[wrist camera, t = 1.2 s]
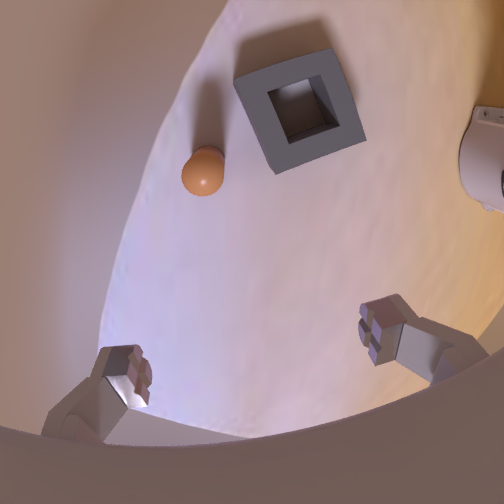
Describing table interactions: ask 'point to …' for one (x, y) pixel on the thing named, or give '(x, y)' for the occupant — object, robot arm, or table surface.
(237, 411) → the table surface
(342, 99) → the socket holder
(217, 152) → the peg
